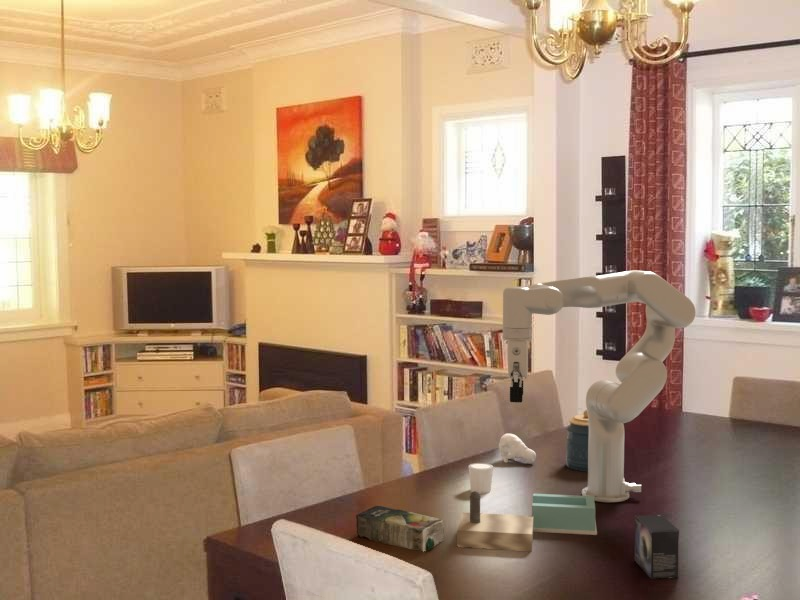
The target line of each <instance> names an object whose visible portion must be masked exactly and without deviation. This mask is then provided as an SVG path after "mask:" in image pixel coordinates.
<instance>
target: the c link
mask: <svg viewBox="0 0 800 600" xmlns="http://www.w3.org/2000/svg"><path fill="white" fill-rule="evenodd" d="M595 502H596V501H594V496H583V495H576V494H575V495H572V494H553V493H552V494H550V493H549V494H547V493H533V494H532V503H531V516H534V525H533V529H534V528H547V529H566V530H585V531H595V520H596V504H595Z"/></svg>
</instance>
